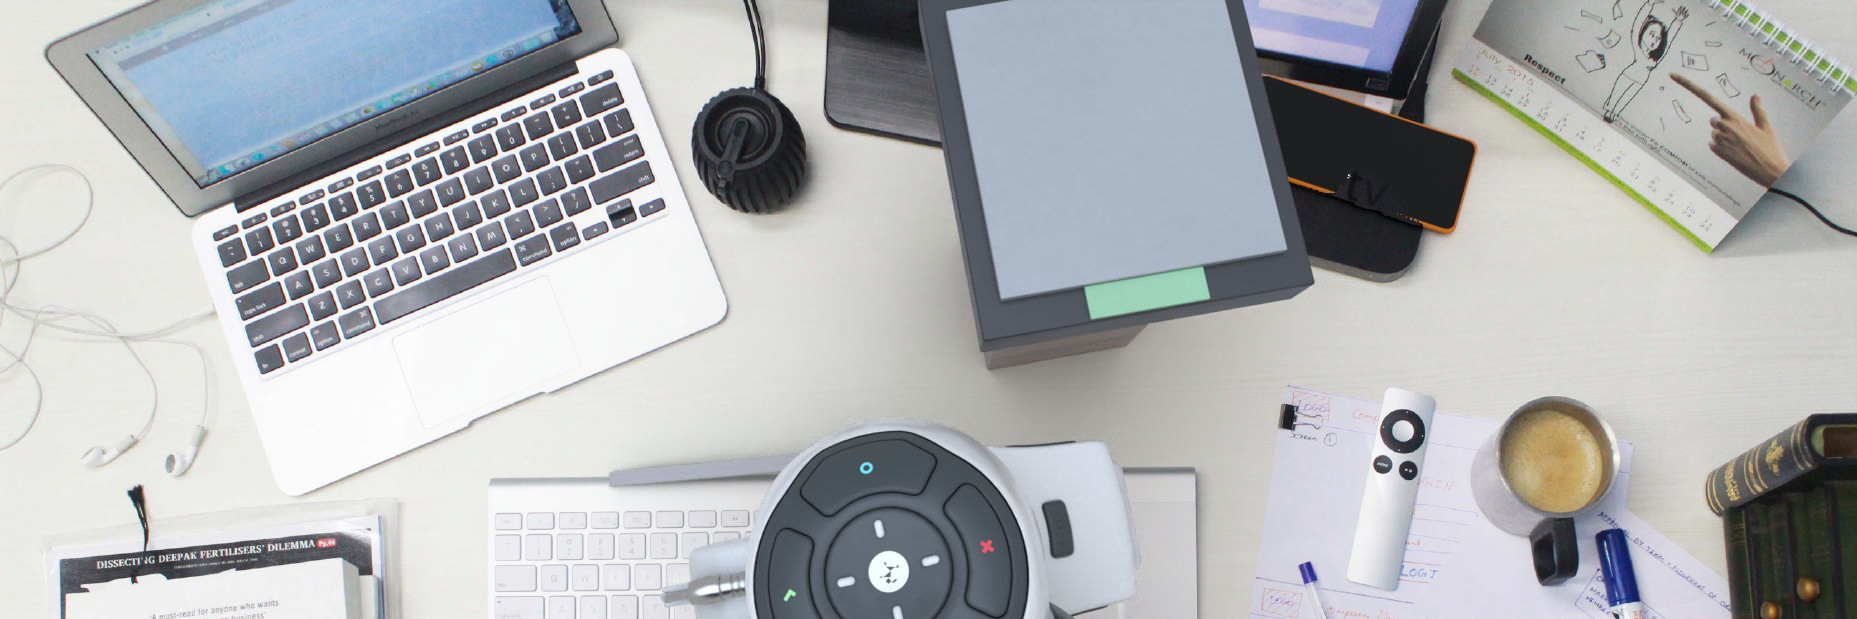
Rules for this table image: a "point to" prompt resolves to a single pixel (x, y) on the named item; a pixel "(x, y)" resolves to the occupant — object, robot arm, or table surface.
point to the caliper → (700, 471)
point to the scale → (1109, 163)
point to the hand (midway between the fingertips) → (918, 547)
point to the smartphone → (1371, 151)
